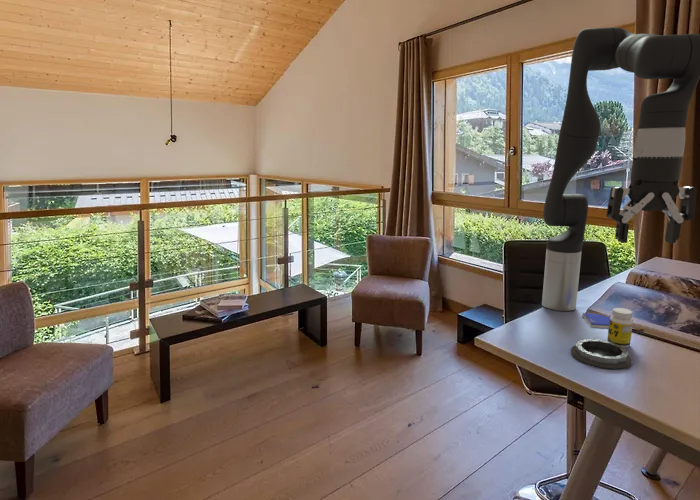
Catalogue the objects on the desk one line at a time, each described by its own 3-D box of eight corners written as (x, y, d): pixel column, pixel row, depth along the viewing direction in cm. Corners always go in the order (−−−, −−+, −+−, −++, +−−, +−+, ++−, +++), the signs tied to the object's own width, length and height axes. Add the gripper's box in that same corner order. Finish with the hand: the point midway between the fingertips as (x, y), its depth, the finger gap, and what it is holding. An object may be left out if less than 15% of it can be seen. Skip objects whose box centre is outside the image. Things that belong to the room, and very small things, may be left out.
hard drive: (591, 323, 118) (644, 326, 115) (582, 312, 125) (632, 315, 123) (590, 328, 118) (643, 332, 115) (582, 317, 126) (631, 320, 123)
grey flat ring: (563, 344, 107) (564, 336, 107) (617, 347, 106) (618, 338, 105) (581, 368, 96) (582, 359, 95) (642, 371, 94) (643, 362, 94)
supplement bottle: (602, 340, 110) (606, 307, 108) (621, 339, 110) (625, 306, 108) (615, 348, 105) (619, 314, 103) (634, 347, 105) (639, 313, 104)
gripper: (687, 153, 84) (674, 238, 88) (606, 154, 85) (597, 238, 89) (714, 154, 77) (699, 246, 80) (626, 155, 78) (615, 246, 82)
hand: (645, 242), depth 85 cm, fingers open, 8 cm apart
